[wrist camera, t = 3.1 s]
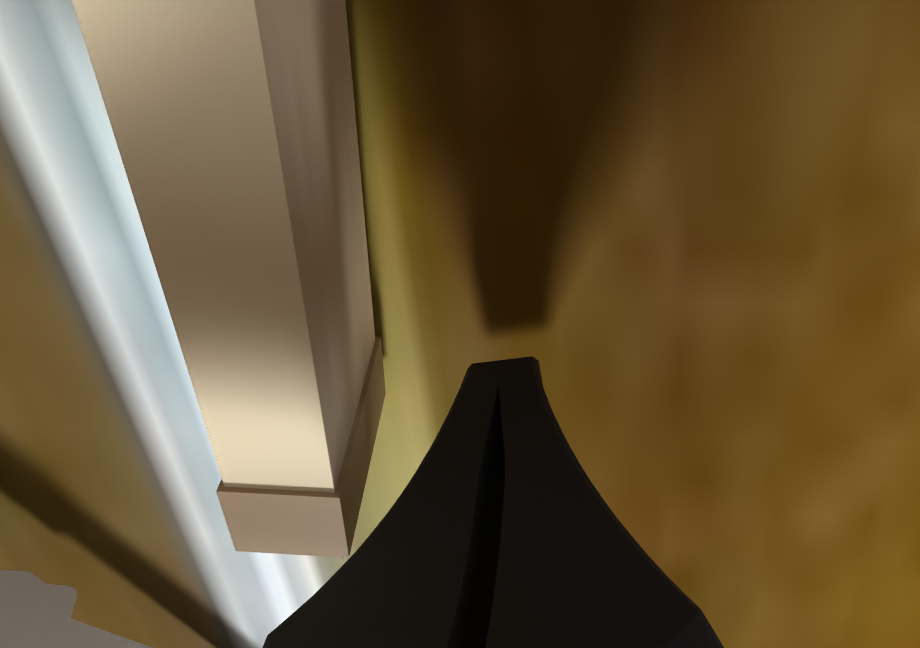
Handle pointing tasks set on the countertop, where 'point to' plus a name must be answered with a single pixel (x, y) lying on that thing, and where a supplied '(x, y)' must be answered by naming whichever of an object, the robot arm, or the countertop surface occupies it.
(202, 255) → the gate
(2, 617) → the caliper
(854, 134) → the countertop surface
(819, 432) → the countertop surface
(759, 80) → the countertop surface
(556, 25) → the countertop surface
